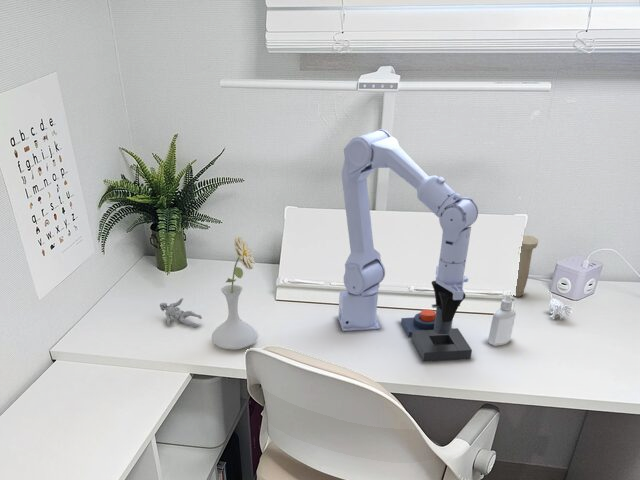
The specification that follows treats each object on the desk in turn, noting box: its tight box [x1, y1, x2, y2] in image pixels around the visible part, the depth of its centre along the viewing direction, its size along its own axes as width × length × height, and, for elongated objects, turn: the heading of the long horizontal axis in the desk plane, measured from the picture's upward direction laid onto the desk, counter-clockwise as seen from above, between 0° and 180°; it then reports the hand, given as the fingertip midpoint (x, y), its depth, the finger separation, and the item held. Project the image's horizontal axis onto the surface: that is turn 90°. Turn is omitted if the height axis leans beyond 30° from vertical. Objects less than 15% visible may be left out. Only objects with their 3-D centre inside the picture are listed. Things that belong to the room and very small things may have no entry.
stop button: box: [420, 309, 436, 322], centre depth 167 cm, size 4×4×2 cm
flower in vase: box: [210, 235, 259, 350], centre depth 158 cm, size 13×11×25 cm
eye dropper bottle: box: [487, 293, 517, 347], centre depth 160 cm, size 4×6×12 cm
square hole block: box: [411, 327, 473, 363], centre depth 160 cm, size 11×11×2 cm
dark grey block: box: [431, 303, 461, 334], centre depth 156 cm, size 6×4×7 cm, turn 95°
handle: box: [516, 235, 539, 298], centre depth 180 cm, size 5×6×15 cm
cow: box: [548, 290, 573, 320], centre depth 173 cm, size 12×5×5 cm, turn 179°
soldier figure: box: [159, 297, 203, 328], centre depth 174 cm, size 8×5×12 cm
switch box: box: [400, 312, 453, 338], centre depth 169 cm, size 11×8×3 cm
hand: (444, 316), depth 156 cm, fingers closed on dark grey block, 4 cm apart
